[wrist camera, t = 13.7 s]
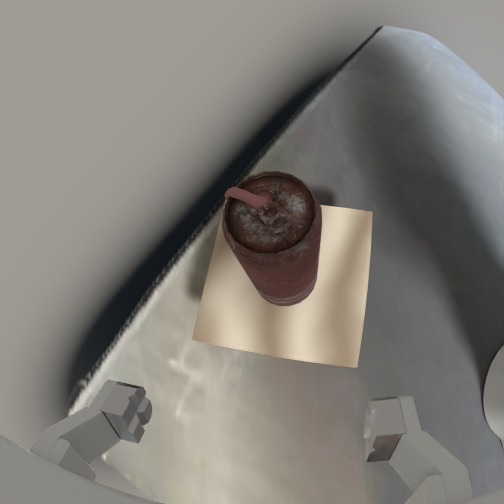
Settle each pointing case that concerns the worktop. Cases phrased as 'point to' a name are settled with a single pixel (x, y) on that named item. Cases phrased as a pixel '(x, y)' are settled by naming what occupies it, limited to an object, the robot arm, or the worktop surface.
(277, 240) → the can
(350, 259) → the small table
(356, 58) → the worktop surface
